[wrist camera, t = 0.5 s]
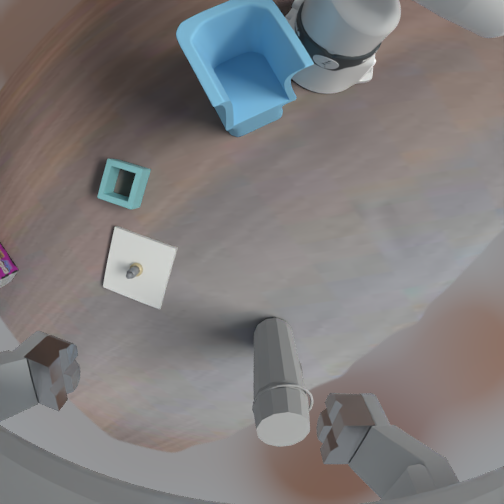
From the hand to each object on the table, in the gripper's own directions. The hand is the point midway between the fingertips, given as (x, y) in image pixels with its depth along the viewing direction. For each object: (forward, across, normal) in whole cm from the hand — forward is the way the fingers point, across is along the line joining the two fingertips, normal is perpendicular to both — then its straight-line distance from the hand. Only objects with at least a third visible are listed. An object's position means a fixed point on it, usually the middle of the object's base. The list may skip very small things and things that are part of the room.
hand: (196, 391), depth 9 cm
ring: (+44, +21, -2) cm, 49 cm away
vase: (+44, +3, -18) cm, 48 cm away
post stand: (+44, +17, +13) cm, 49 cm away
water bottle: (+44, -10, +21) cm, 50 cm away
